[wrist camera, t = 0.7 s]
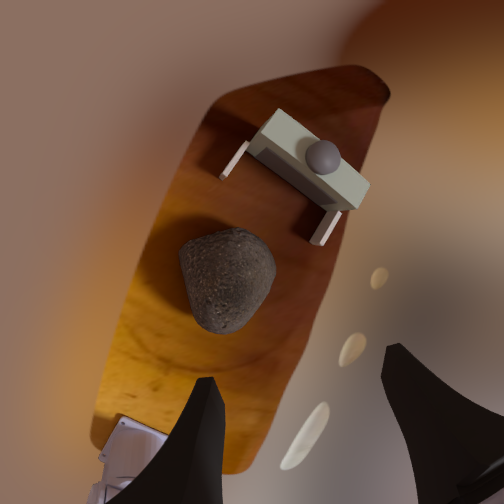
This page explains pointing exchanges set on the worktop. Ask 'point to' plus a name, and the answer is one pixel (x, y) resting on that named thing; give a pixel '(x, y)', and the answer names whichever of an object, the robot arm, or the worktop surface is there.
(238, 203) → the worktop surface
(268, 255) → the stone
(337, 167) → the digital alarm clock
